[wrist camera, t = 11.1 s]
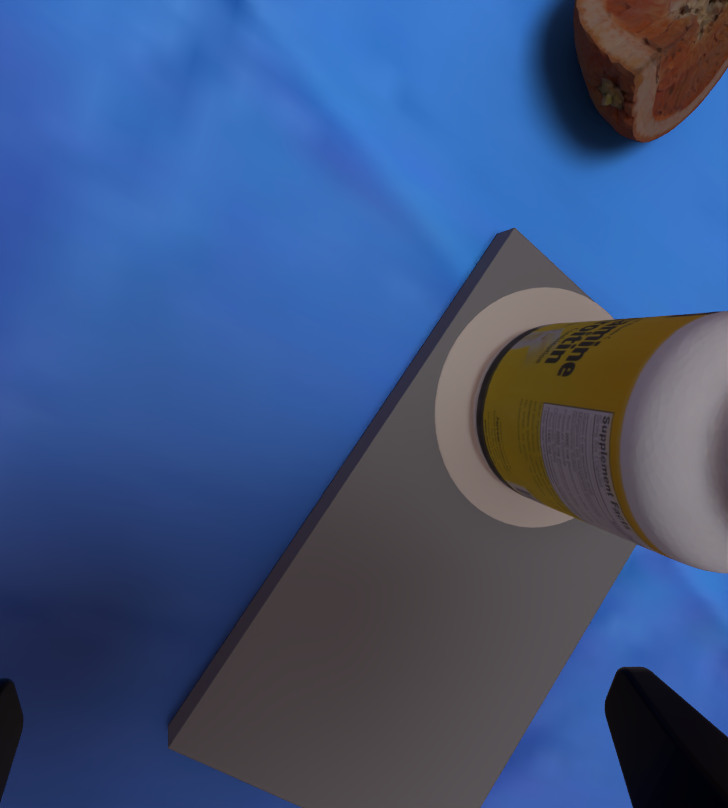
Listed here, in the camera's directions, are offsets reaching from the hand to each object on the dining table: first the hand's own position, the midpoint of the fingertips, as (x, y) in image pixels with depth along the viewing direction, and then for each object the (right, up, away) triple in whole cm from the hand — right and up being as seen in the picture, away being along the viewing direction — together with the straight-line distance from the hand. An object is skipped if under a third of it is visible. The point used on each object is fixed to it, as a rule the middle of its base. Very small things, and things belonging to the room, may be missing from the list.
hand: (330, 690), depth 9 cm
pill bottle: (+7, +4, +13) cm, 16 cm away
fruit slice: (+10, +18, +15) cm, 25 cm away
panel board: (+4, -1, +14) cm, 15 cm away
